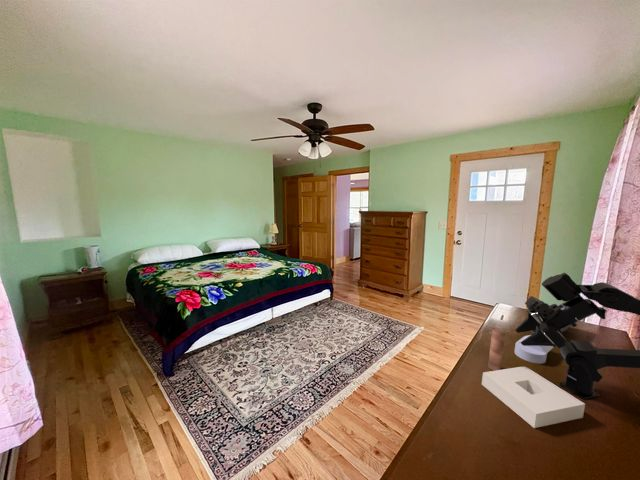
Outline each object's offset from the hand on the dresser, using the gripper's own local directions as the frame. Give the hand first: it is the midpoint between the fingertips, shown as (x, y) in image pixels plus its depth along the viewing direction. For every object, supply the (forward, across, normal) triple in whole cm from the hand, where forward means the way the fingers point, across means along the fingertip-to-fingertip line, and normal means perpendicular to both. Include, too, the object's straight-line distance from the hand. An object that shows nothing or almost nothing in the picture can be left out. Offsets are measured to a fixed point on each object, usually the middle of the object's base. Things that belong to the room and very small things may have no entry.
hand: (519, 337), depth 83 cm
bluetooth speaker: (-4, -41, +22) cm, 47 cm away
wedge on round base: (+4, -17, +15) cm, 23 cm away
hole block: (+8, +13, +10) cm, 18 cm away
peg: (+13, 0, +5) cm, 14 cm away
